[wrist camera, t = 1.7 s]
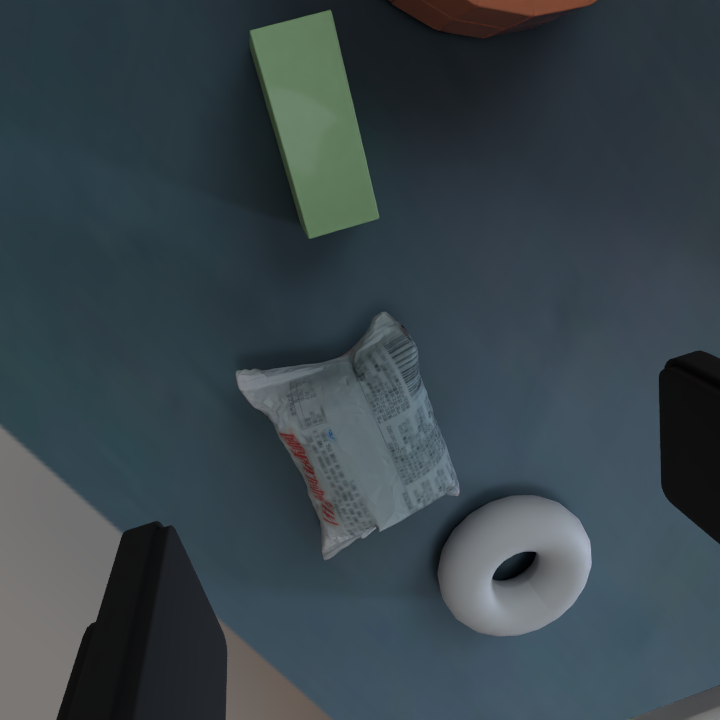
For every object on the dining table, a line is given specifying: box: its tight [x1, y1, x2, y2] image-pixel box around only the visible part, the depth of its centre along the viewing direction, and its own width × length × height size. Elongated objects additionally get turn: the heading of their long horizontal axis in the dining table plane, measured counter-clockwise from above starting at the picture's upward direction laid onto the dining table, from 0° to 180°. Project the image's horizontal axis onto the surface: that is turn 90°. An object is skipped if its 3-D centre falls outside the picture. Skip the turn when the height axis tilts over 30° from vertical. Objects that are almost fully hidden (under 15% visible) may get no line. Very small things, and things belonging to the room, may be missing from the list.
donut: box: [437, 495, 591, 636], centre depth 36 cm, size 10×3×10 cm
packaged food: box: [236, 311, 460, 560], centre depth 29 cm, size 9×12×5 cm
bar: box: [249, 10, 379, 239], centre depth 24 cm, size 8×3×4 cm, turn 14°
